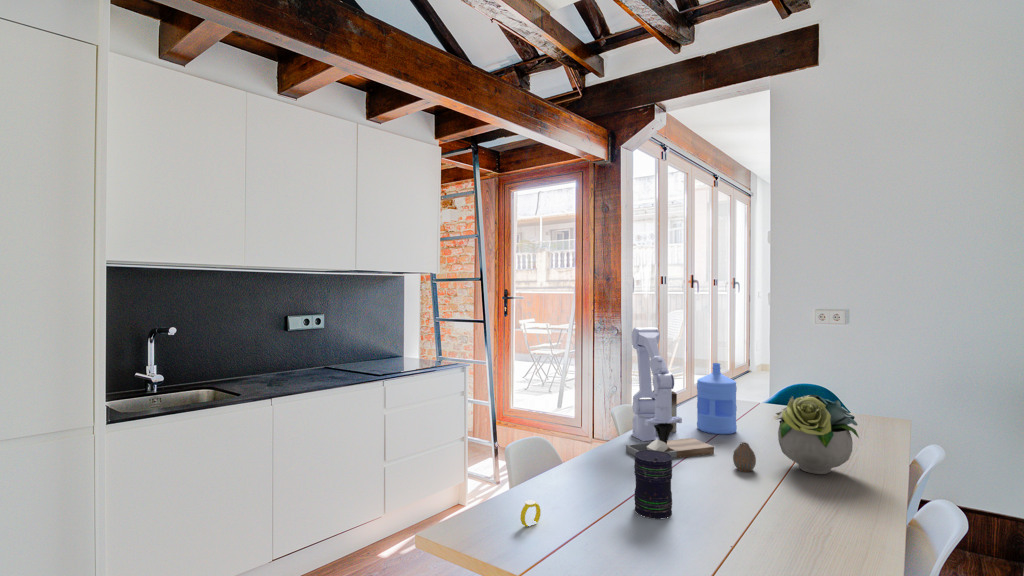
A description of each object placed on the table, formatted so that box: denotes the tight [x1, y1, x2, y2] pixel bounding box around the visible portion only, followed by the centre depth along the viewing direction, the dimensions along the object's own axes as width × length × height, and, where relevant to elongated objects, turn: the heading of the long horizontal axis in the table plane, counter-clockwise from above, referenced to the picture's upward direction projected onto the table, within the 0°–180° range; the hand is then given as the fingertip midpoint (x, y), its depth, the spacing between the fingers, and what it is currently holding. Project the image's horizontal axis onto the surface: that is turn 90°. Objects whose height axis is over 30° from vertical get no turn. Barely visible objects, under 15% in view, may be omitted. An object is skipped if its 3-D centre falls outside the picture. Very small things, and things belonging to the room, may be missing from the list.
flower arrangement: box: [772, 394, 860, 475], centre depth 172 cm, size 25×25×24 cm
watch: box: [520, 499, 542, 527], centre depth 132 cm, size 6×3×6 cm, turn 133°
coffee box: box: [652, 390, 678, 433], centre depth 221 cm, size 9×6×16 cm
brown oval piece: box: [732, 441, 757, 473], centre depth 173 cm, size 7×7×9 cm
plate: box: [665, 437, 715, 459], centre depth 193 cm, size 12×16×2 cm
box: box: [625, 441, 678, 460], centre depth 188 cm, size 12×13×2 cm
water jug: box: [696, 362, 738, 435], centre depth 221 cm, size 16×16×28 cm
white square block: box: [647, 439, 668, 452], centre depth 188 cm, size 5×5×2 cm
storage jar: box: [633, 450, 673, 520], centre depth 141 cm, size 10×10×15 cm
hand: (663, 444), depth 190 cm, fingers closed
